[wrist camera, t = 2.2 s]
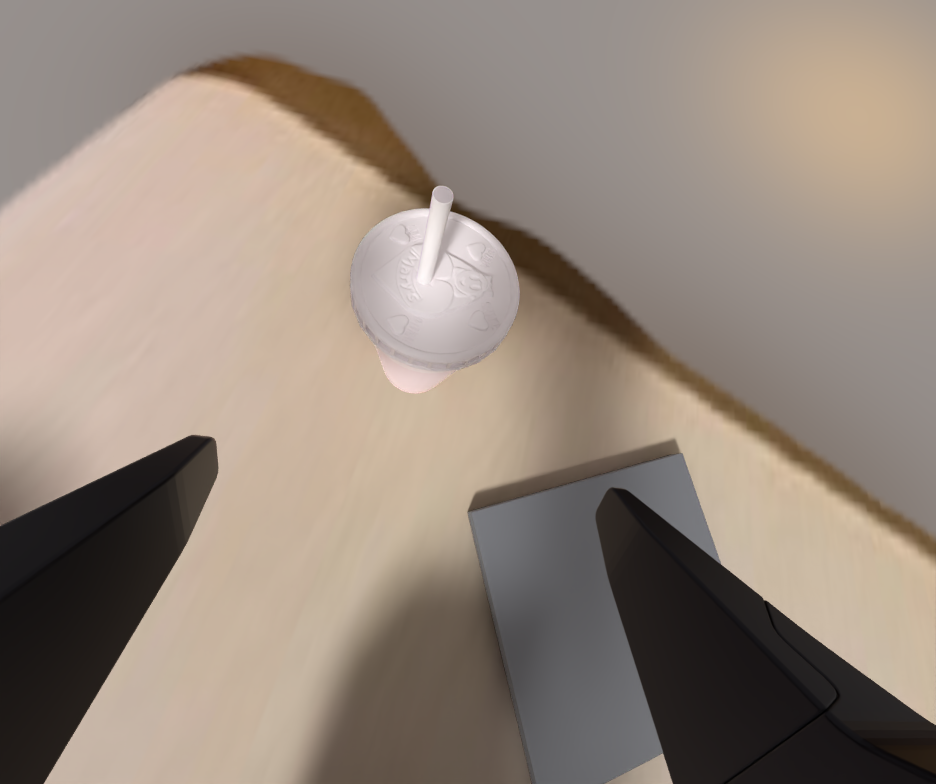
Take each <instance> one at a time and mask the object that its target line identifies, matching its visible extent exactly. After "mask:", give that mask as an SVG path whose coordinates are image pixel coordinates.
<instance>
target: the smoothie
mask: <svg viewBox="0 0 936 784" xmlns="http://www.w3.org/2000/svg"><path fill="white" fill-rule="evenodd" d="M453 197H454V196H453V192H452V191H451V190H450V189H449V188H448V187H445V186H438V187H436V188H435V189H434V190H433V194H432V199H431V204H430V208H420V209H412V210H406V211H403V212H399V213H397V214H394V215H392V216H390V217H388V218H386V219H384V220H382V221H381V222H379V223H378V224H377V225H375V226H374V227H373V228H372V229H371V230H370V231H369V232H368V233H367V234H366V235H365V237H364V238H363V239H362V241H361V242H360V244H359V246H358V248H357V250H356V252H355V254H354V257H353V261H352V265H351V273H350V292H351V302H352V308H353V310H354V312H355V315H356V317H357V320H358V322H359V325H360V327H361V328H362V330H363V331H364V332H365V333H366V335H367V336H368V337H369V339H370V340H371V341H372V343H373V344H374V345H375V347H376V350H377V353H378V355H379V358H380V361H381V364H382V366H383V369H384V372H385V374H386V376H387V378H388V380H389V381H390V382H391V383H392V384H393V385H394V386H395V387H397V388H398V389H400V390H402V391H404V392H408V393H423V392H426V391H429V390H431V389H432V388H434V387H435V386H437V385H438V384H439V383H440V382H442V381H443V380H444V379H446V378H447V377H448V376H450V375H451V374H452V373H454V372H455V371H456V370H460V369H463V368H465V367H468V366H471V365H474V364H476V363H479V362H480V361H481V360H483V359H484V358H486V357H487V356H488V355H490V354H491V353H493V352H494V351H495V350H496V349H497V347H498V346H499V345H500V343H501V342H502V341H503V339H504V338H505V337H506V336H507V333H508V331H509V329H510V327H511V326H512V324H513V322H514V320H515V317H516V314H517V311H518V306H519V298H520V289H519V281H518V276H517V273H516V270H515V267H514V264H513V262H512V260H511V258H510V256H509V254H508V253H507V251H506V250H505V248H504V247H503V246H502V244H501V243H500V242H499V241H498V240H497V239H496V238H495V237H494V236H493V235H492V234H491V233H490V232H489V231H488V230H486V229H485V228H484V227H483V226H481V225H480V224H478V223H476V222H475V221H473V220H471V219H469V218H467V217H465V216H463V215H460V214H457V213H454V212H450V209H451V205H452V202H453Z"/></svg>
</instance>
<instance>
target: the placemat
mask: <svg viewBox="0 0 936 784" xmlns="http://www.w3.org/2000/svg"><path fill="white" fill-rule="evenodd" d="M611 487H615V488H623V489H626V490H628V491H629V492H631V493H632V494H633V495H634V496H636V497H637V498H638V499H639V500H641V501H642V502H643V503H644V504H646V505H647V506H648V507H649V508H651V509H652V510H653V511H654V512H656V513H657V514H658V515H660V516H661V517H662V518H663V519H665V520H666V521H667V522H668V523H670V524H671V525H672V526H673V527H675V528H676V529H677V530H678V531H680V532H681V533H682V534H683V535H685V536H686V537H687V538H688V539H690V540H691V541H692V542H693V543H695V544H696V545H697V546H698V547H700V548H701V549H702V550H703V551H705V552H706V553H707V554H708V555H710V556H711V557H712V558H713V559H715V560H716V561H717V562H719V563H720V564H721V562H720V560H719V557H718V554H717V551H716V548H715V545H714V542H713V539H712V537H711V534H710V531H709V528H708V525H707V522H706V519H705V517H704V514H703V511H702V508H701V505H700V502H699V499H698V497H697V494H696V491H695V488H694V485H693V482H692V479H691V476H690V474H689V471H688V468H687V465H686V462H685V459H684V456H683V454H682V453H680V454H672V455H668V456H665V457H661V458H658V459H654V460H650V461H647V462H643V463H640V464H636V465H633V466H629V467H625V468H622V469H618V470H615V471H611V472H608V473H604V474H600V475H597V476H593V477H590V478H586V479H583V480H579V481H576V482H572V483H568V484H565V485H561V486H558V487H554V488H551V489H547V490H543V491H540V492H536V493H533V494H529V495H526V496H522V497H518V498H515V499H511V500H508V501H504V502H501V503H497V504H493V505H490V506H486V507H483V508H479V509H476V510H472V511H468V517H469V521H470V525H471V529H472V533H473V538H474V542H475V546H476V550H477V554H478V559H479V563H480V567H481V571H482V575H483V580H484V584H485V588H486V592H487V596H488V601H489V605H490V609H491V613H492V617H493V622H494V626H495V630H496V634H497V638H498V643H499V647H500V651H501V655H502V659H503V664H504V668H505V672H506V676H507V680H508V684H509V689H510V693H511V697H512V701H513V705H514V710H515V714H516V718H517V722H518V726H519V731H520V735H521V739H522V743H523V747H524V752H525V756H526V760H527V764H528V768H529V773H530V777H531V781H532V784H605V783H607V782H608V781H610V780H612V779H614V778H616V777H618V776H620V775H622V774H624V773H626V772H628V771H630V770H632V769H633V768H635V767H637V766H639V765H641V764H643V763H645V762H647V761H649V760H651V759H653V758H655V757H656V756H658V755H660V754H662V753H663V751H662V748H661V744H660V741H659V738H658V735H657V732H656V729H655V725H654V722H653V719H652V716H651V713H650V710H649V707H648V703H647V700H646V697H645V694H644V691H643V688H642V685H641V681H640V678H639V675H638V672H637V669H636V666H635V663H634V659H633V656H632V653H631V650H630V647H629V644H628V640H627V637H626V634H625V631H624V628H623V625H622V622H621V618H620V615H619V612H618V609H617V606H616V603H615V600H614V596H613V593H612V590H611V587H610V583H609V580H608V576H607V572H606V568H605V563H604V558H603V554H602V549H601V544H600V539H599V535H598V530H597V525H596V520H595V514H596V510H597V508H598V506H599V504H600V502H601V500H602V498H603V497H604V495H605V493H606V491H607V490H608V489H609V488H611Z"/></svg>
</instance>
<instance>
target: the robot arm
mask: <svg viewBox="0 0 936 784" xmlns="http://www.w3.org/2000/svg"><path fill="white" fill-rule="evenodd" d="M217 474H218V457H217V446H216V441H215V439H214V438H212V437H208V436H200V435H191V436H188V437H186V438H184V439H182V440H180V441H177V442H175V443H173V444H171V445H169V446H167V447H165V448H163V449H161V450H159V451H156V452H154V453H152V454H150V455H148V456H146V457H144V458H142V459H140V460H138V461H135V462H133V463H131V464H129V465H127V466H125V467H123V468H121V469H119V470H117V471H114V472H112V473H110V474H108V475H106V476H104V477H102V478H100V479H98V480H96V481H93V482H91V483H89V484H87V485H85V486H83V487H81V488H79V489H77V490H75V491H72V492H70V493H68V494H66V495H64V496H62V497H60V498H58V499H56V500H53V501H51V502H49V503H47V504H45V505H43V506H41V507H39V508H37V509H35V510H32V511H30V512H28V513H26V514H24V515H22V516H20V517H18V518H16V519H14V520H11V521H9V522H7V523H5V524H3V525H1V526H0V784H44V782H45V781H46V779H47V777H48V776H49V774H50V772H51V771H52V769H53V767H54V766H55V764H56V762H57V761H58V759H59V757H60V756H61V754H62V752H63V751H64V749H65V747H66V746H67V744H68V742H69V741H70V739H71V737H72V736H73V734H74V732H75V731H76V729H77V727H78V725H79V724H80V722H81V720H82V719H83V717H84V715H85V714H86V712H87V710H88V709H89V707H90V705H91V704H92V702H93V700H94V699H95V697H96V695H97V694H98V692H99V690H100V689H101V687H102V685H103V684H104V682H105V680H106V679H107V677H108V675H109V674H110V672H111V670H112V669H113V667H114V665H115V664H116V662H117V660H118V658H119V657H120V655H121V653H122V652H123V650H124V648H125V647H126V645H127V643H128V642H129V640H130V638H131V637H132V635H133V633H134V632H135V630H136V628H137V627H138V625H139V623H140V622H141V620H142V618H143V617H144V615H145V613H146V612H147V610H148V608H149V607H150V605H151V603H152V602H153V600H154V598H155V597H156V595H157V593H158V591H159V590H160V588H161V586H162V585H163V583H164V581H165V580H166V578H167V576H168V575H169V573H170V571H171V570H172V568H173V566H174V565H175V563H176V561H177V560H178V558H179V556H180V555H181V553H182V551H183V549H184V547H185V546H186V544H187V542H188V540H189V537H190V535H191V533H192V531H193V529H194V527H195V524H196V522H197V520H198V518H199V516H200V513H201V511H202V509H203V507H204V504H205V502H206V500H207V498H208V496H209V493H210V491H211V489H212V487H213V485H214V482H215V480H216V478H217ZM595 520H596V525H597V530H598V535H599V539H600V544H601V549H602V554H603V558H604V563H605V568H606V572H607V576H608V580H609V583H610V587H611V590H612V593H613V596H614V600H615V603H616V606H617V609H618V612H619V615H620V618H621V622H622V625H623V628H624V631H625V634H626V637H627V640H628V644H629V647H630V650H631V653H632V656H633V659H634V663H635V666H636V669H637V672H638V675H639V678H640V681H641V685H642V688H643V691H644V694H645V697H646V700H647V703H648V707H649V710H650V713H651V716H652V719H653V722H654V725H655V729H656V732H657V735H658V738H659V741H660V744H661V748H662V751H663V754H664V757H665V760H666V763H667V766H668V770H669V773H670V776H671V779H672V782H673V784H936V725H934V724H933V723H931V722H929V721H928V720H926V719H925V718H924V717H922V716H921V715H919V714H918V713H916V712H915V711H913V710H912V709H911V708H909V707H908V706H907V705H905V704H904V703H902V702H901V701H900V700H898V699H897V698H896V697H894V696H893V695H891V694H890V693H889V692H887V691H886V690H885V689H883V688H882V687H880V686H879V685H878V684H876V683H875V682H874V681H872V680H871V679H869V678H868V677H867V676H865V675H864V674H863V673H861V672H860V671H858V670H857V669H856V668H854V667H853V666H852V665H850V664H849V663H847V662H846V661H845V660H843V659H842V658H841V657H839V656H838V655H837V654H835V653H834V652H833V651H831V650H830V649H828V648H827V647H826V646H824V645H823V644H822V643H820V642H819V641H818V640H816V639H815V638H814V637H812V636H811V635H810V634H808V633H807V632H806V631H804V630H803V629H802V628H801V627H799V626H798V625H797V624H795V623H794V622H793V621H792V620H790V619H789V618H788V617H786V616H785V615H784V614H783V613H781V612H780V611H779V610H778V609H776V608H775V607H774V606H773V605H771V604H770V603H769V602H768V601H766V600H763V598H762V597H761V596H760V595H759V594H757V593H756V592H755V591H754V590H752V589H751V588H750V587H749V586H747V585H746V584H745V583H744V582H742V581H741V580H740V579H739V578H737V577H736V576H735V575H734V574H732V573H731V572H730V571H729V570H727V569H726V568H725V567H724V566H722V565H721V564H720V563H719V562H717V561H716V560H715V559H713V558H712V557H711V556H710V555H708V554H707V553H706V552H705V551H703V550H702V549H701V548H700V547H698V546H697V545H696V544H695V543H693V542H692V541H691V540H690V539H688V538H687V537H686V536H685V535H683V534H682V533H681V532H680V531H678V530H677V529H676V528H675V527H673V526H672V525H671V524H670V523H668V522H667V521H666V520H665V519H663V518H662V517H661V516H660V515H658V514H657V513H656V512H654V511H653V510H652V509H651V508H649V507H648V506H647V505H646V504H644V503H643V502H642V501H641V500H639V499H638V498H637V497H636V496H634V495H633V494H632V493H631V492H629V491H628V490H626V489H623V488H615V487H611V488H609V489H608V490H607V491H606V493H605V495H604V497H603V498H602V500H601V502H600V504H599V506H598V508H597V510H596V514H595Z"/></svg>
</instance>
